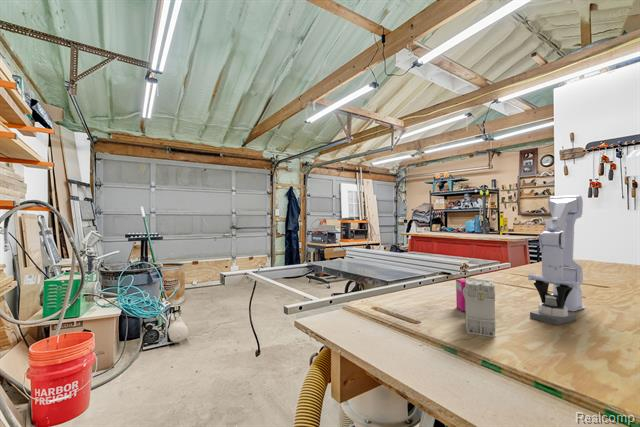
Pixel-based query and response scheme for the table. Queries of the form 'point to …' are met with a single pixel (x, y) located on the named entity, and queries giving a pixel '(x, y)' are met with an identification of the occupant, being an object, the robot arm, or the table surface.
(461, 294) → the supplement box
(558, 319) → the camera body
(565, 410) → the table surface
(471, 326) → the circuit breaker
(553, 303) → the lens
